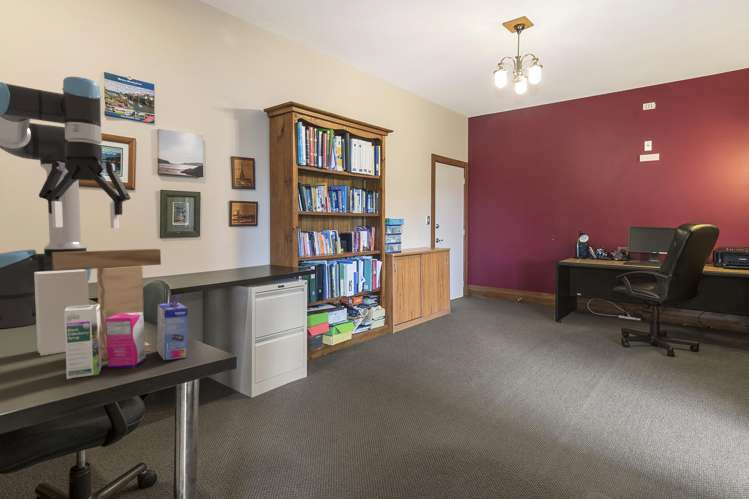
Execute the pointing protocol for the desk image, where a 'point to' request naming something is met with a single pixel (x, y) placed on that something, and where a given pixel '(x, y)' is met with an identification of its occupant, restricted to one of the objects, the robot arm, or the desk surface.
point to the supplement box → (125, 340)
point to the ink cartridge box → (172, 330)
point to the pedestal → (57, 305)
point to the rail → (105, 259)
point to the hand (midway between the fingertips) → (86, 227)
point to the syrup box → (82, 341)
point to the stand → (119, 296)
